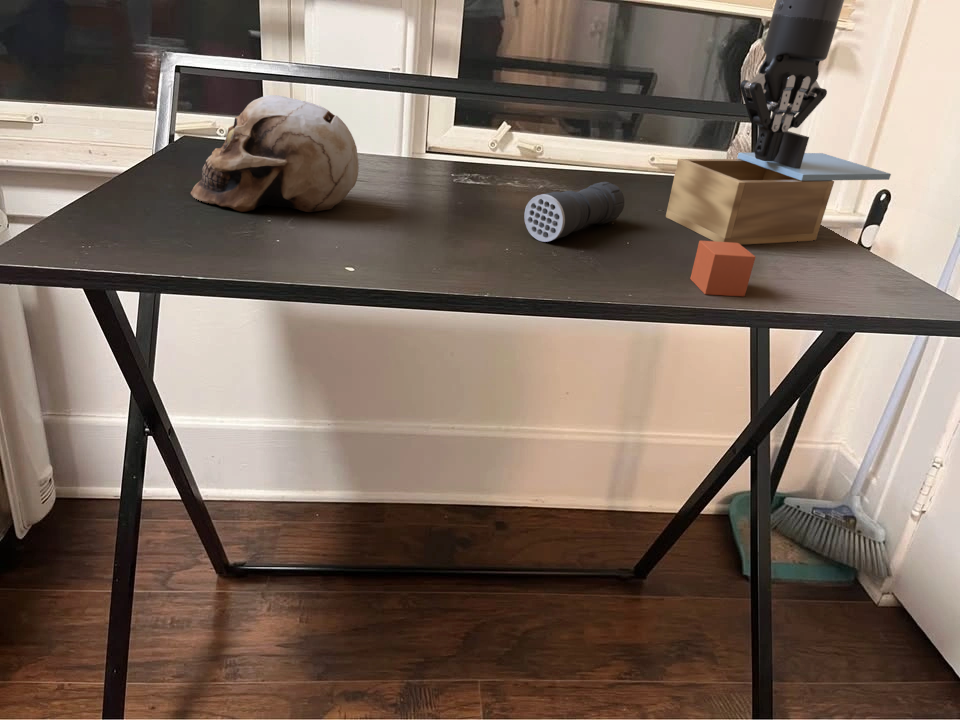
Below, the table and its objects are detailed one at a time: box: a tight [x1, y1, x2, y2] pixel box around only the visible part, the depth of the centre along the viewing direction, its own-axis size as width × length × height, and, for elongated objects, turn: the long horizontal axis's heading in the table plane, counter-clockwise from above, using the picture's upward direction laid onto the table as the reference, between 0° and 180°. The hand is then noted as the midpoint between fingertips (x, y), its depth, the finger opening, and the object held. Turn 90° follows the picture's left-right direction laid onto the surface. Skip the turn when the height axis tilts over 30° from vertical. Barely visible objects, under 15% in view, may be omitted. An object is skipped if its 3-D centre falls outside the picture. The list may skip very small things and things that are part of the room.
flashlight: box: [523, 181, 625, 243], centre depth 92 cm, size 15×5×5 cm, turn 140°
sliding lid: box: [736, 130, 892, 181], centre depth 101 cm, size 12×16×5 cm
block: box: [689, 240, 756, 297], centre depth 78 cm, size 4×4×4 cm
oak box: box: [665, 158, 835, 246], centre depth 99 cm, size 12×16×8 cm
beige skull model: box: [190, 94, 360, 213], centre depth 89 cm, size 16×17×13 cm
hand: (764, 159), depth 97 cm, fingers closed
